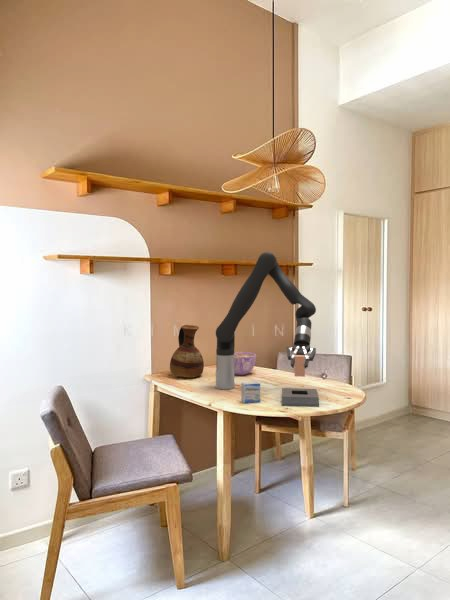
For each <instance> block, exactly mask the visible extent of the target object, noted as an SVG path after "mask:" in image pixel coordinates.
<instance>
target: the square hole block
mask: <svg viewBox="0 0 450 600" xmlns="http://www.w3.org/2000/svg"><path fill="white" fill-rule="evenodd" d="M319 405H320V397H319V393H318V390H317V388H302V387H301V388H299V387H298V388H296V387H295V388H293V387H291V388H290V387H281V406H283V407H284V406H286V407H289V406H290V407H292V406H293V407H317V408H319V407H320V406H319Z"/></svg>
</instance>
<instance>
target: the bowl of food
mask: <svg viewBox="0 0 450 600" xmlns="http://www.w3.org/2000/svg"><path fill="white" fill-rule="evenodd" d="M256 359H257V354H256V353H254V352H247V351H234V376H244V375H245V376H246V375H247V374H249V373H250V372H252V371H253V369H254V367H255V363H256Z"/></svg>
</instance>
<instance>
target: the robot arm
mask: <svg viewBox="0 0 450 600" xmlns="http://www.w3.org/2000/svg"><path fill="white" fill-rule="evenodd" d="M280 266H281V265H279V262H278V260H277V257H276V256H275V255H274V253H272V252H271V251H265V252H263V253H261V254H260V255H259V257H258V258H257V260H256V263H255V265H254V267H253V269H252V272H251V273H250V274H249V276H248V277H247V279H246V281H244V283H243V285H242V286H241V287H240V289H239V291H238V292H237V294H236V296H235V298H234V299H233V301H232V304H231V306H230V307H229V310H228V313H227V314H226V316H224V319H223V320H222V321H221V322H220V324H219V325H218V326H217V327H216V330H215V337H216V350H215V351H216V354H215V355H216V356H215V357H216V360H215V362H216V369H215V388H216V389H219V390H231V389H234V388H235V375H234V352H235V344H236V343H235V338H236V337H235V332H236V331H237V328H238V326H239V324H240V322H241V321H242V319H243V318H244V317H245V315H246V314H247V313H248V312H249V310H250V309H251V307H252V306H253V304H254V302H255V301H256V299H257V297H258V295H259V293H260V290H261V288H262V285H263V282H264V281H265V280H266V278H267V276H268V275H269V276H270V277H271V279H272V280H274V282H275V283H276V284H277V287H278V288H279V289H280V291H281V292H282V294H283V295H284V296H285V298H286V299H287V300H288V302H289V303H290V304H291V305H297V304H298V305H300V306H299V307H298V308H297V309H296V310H295V314H294V315H295V319H296V330H295V332H294V340H293V345H292V347H289V346H286V347H285V350H286V356H287V359H288V361H290V366H291V368H293V369H294V355H305V365H304V366H305V369H307V368H308V367H309V362H313V361H314V358H315V356H316V353H317V349H316V347H311V339H312V320H311V319H310V318H312V316H314V315H315V314H316V312H317V307H316V305H315V304H314V303H313V302H312V301H310V300H309V299H308V298H307V297H305V295H303V294H302V293H301V292H300V290H299V289H298V288H297V287H296V285H295V284H294V282H293V281H291V279H289V277H288V276H287V275H286V274H285V272H284V271H283V270H282V268H281V267H280ZM292 351H293V353H292ZM291 353H292V355H291ZM308 353H310V356H309V354H308Z"/></svg>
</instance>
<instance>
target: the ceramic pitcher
mask: <svg viewBox="0 0 450 600" xmlns="http://www.w3.org/2000/svg"><path fill="white" fill-rule="evenodd" d="M199 329H200V326H198V325H194V324H193V325H192V324H185V325H180V329H179V331H178V337H177V338H178V339H177V340H178V348H177V349H176V350H175V351H174V352H173V354H172V356H171V358H170V363H169V370H170V373H171V374H172V375H174V376H176V377H179V378H189V379H191V378H196V377H199V376H201V375H202V374H203V373H204V368H205V366H204V365H205V364H204V358H203V357H204V356H203V355H202V353H201V351H200V349H198V348H197V347H196V346H195V336H196V333H197V331H198V330H199Z"/></svg>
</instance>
